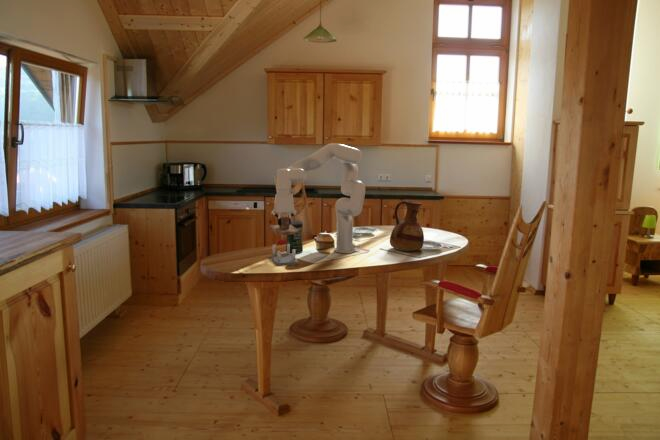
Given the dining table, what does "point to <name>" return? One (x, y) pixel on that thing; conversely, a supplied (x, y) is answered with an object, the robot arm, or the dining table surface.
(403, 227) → the ceramic pitcher
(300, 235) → the coffee jar
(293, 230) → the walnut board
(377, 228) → the dining table surface
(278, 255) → the peg stand
